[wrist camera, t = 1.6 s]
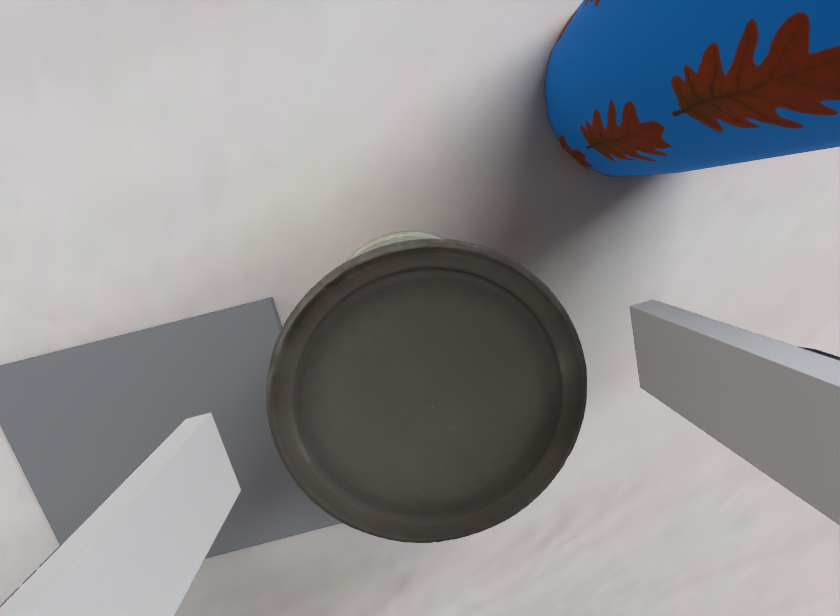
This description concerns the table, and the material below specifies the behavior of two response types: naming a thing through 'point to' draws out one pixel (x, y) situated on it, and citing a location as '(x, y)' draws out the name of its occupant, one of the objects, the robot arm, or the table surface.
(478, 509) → the coffee can
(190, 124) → the table surface
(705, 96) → the thermos
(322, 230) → the table surface
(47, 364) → the placemat
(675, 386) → the robot arm
